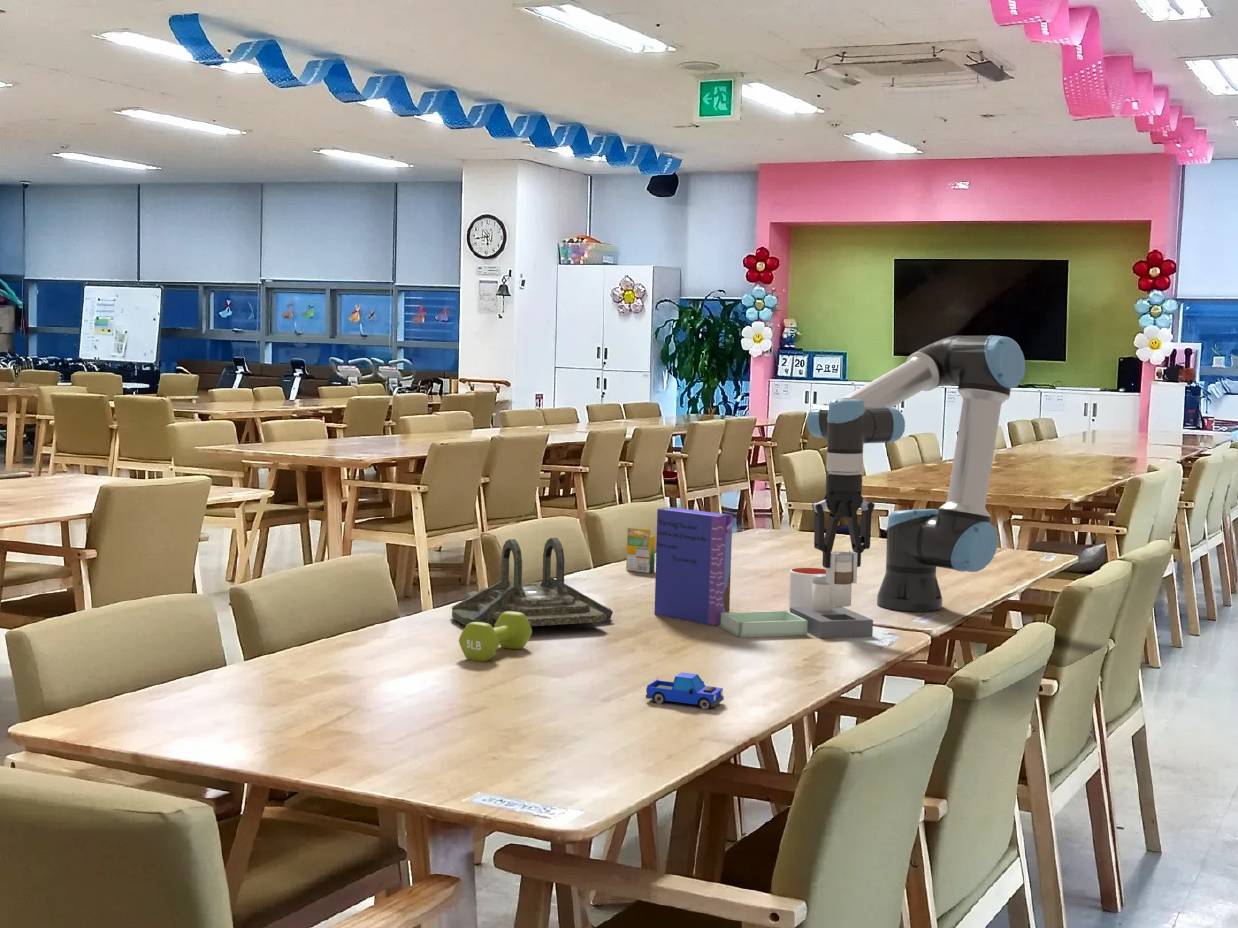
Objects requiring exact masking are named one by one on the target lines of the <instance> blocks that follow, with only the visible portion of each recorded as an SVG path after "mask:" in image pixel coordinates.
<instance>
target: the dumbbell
mask: <svg viewBox="0 0 1238 928" xmlns="http://www.w3.org/2000/svg"><path fill="white" fill-rule="evenodd" d="M532 634H533V629H532V626H530V624H529V621H528V619H527V617H526V616H525V614H523V613H521V612H514V611H507V612H504V613H502V614H501V615H500V616H499V618H498V620H497V621H496V623H495V625H490V624H488V623H483V622H471V623H469V624H467V625H465V627H464V629H463V631H462V632H461V634H460V636H459V638H458V643H459V646H460V648H461V651H462V653H463V655H464V657H465V659H467V660H468V661H473V662H481V663H484V662H489V661H490V660H491V659H492V658H493V656H494V655H495V653H496V652H497V650H498V649H499V646H500V647H501V648H503V649H507V650H521V649H523V648H525V646H526V645H527V643H528V641H529V640H530V638H531V636H532Z"/></svg>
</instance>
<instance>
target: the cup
mask: <svg viewBox="0 0 1238 928" xmlns="http://www.w3.org/2000/svg"><path fill="white" fill-rule="evenodd" d="M814 574H826V568H819V567H795V568H792V569H789V591H788V593H789V594H788V611H790V607H812V591H813V575H814Z"/></svg>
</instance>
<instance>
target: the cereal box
mask: <svg viewBox="0 0 1238 928" xmlns="http://www.w3.org/2000/svg"><path fill="white" fill-rule="evenodd" d="M656 512H657V513H656V515H657V516H656V541H655V583H654V585H655V586H654V615H655V616H659V617H660V616H661V617H663V618H664V617H665V618H669V619H675V620H680V621H684V622H685V621H686V622H690V623H696V624H700V625H704V626H705V625H706V626H709V627H719V626H721V613H726V612H730V609H731V608H730V603H731V578H732V577H731V576H732V575H731V573H732V571H731V570H732V569H731V568H732V544H733V538H732V537H733V514H727V513H721V512H720V513H718V512H712V511H711V512H710V511H702V510H694V509H686V508H680V507H679V508H678V507H672V506H671V507H669V506H667V507H664V506H663V507H660V508H657V510H656Z"/></svg>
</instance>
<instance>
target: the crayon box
mask: <svg viewBox="0 0 1238 928" xmlns="http://www.w3.org/2000/svg"><path fill="white" fill-rule="evenodd" d="M626 531H627V532H626V533H627V535H626V561H625V562H626V567H625V569H626V570H627V572H635V573H636V572H637V573H644V574H645V573H646V574H651V573H655V566H656V536H655V535H651V529H645V528H644V529H643V528H633V527H627V530H626ZM638 531H639V532H641V533H640V534H638V533H636V532H638Z"/></svg>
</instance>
